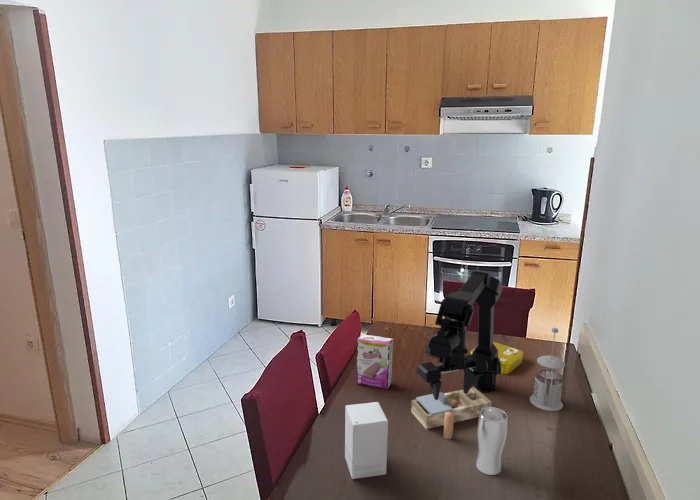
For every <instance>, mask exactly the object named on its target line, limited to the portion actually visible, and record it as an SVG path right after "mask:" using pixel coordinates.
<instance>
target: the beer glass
mask: <svg viewBox="0 0 700 500" xmlns="http://www.w3.org/2000/svg"><path fill="white" fill-rule="evenodd" d="M508 419H509V418H508V414H507V412H505V411H504V410H503V409H501V408H497V407H494V406H491V407H485V408H482V409H481V410H480V414H479V417H478V421H477V429H476V431H477V433H476V435H477V444H478V455H477V459H476V462H475V463H476V464H475V465H476V469H478V471H480V472H481V473H482V474H484V475H487V476H496V475H499V474H500V473H501V471H502V461H501V458H502V454H503V453H502V452H503V449H504V447H505V443H506V439H507V434H508Z"/></svg>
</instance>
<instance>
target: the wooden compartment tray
mask: <svg viewBox="0 0 700 500" xmlns="http://www.w3.org/2000/svg"><path fill="white" fill-rule="evenodd" d="M443 394H444V395H445V396H446V397H447V404H448V405H449V406H450V407H451V408H452V411H449V412H452V413H453V414H454V420H453V424H454V423H458V422H463V421H466V420H472V419H475V418H479V414H480V410H481V409H482V408H485V407H492V406H493V405H492V404H493V403H492V401H491V400H490V399H489V398H488V397H486V396H485V395H484V394H483V393H482V392H481V391H480V390H479V389H477V388H476V387H475V386H472V387H471V389H470V390H469V391H468V393H467V394H465V393H464V392H463V389H460V390H454V391H449V392H444V393H443ZM410 408H411V409H410V411H411V414H412V415H414V417H415V419H417V421H419V423H420V424H421V425H422V426H423V427H424V429H425V430H428V429H429V430H430V429H434V428H438V427H441V426H444V420H445V413H440V414H436V415H430V413H429V412H428V411H427V410H426V409H425V408H424V407H423V406H422V405H421V404H420V403H419V402H418V401H417V399H416V398H415V399H411V407H410Z"/></svg>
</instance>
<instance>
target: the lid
mask: <svg viewBox="0 0 700 500" xmlns="http://www.w3.org/2000/svg"><path fill="white" fill-rule="evenodd" d="M415 399H417V401H418V402H419V403H420V404H421V405H422V406H423V407H424V408H425V409H426V410H427V411H428V412H429V413H430V415H436V414H440V413H445V412H449V411H452V408H451V407H450V406H449V405H448V404H447V397H446V396H445V395H444V393H443V392H442V391H440V392H439V397H438V400H435V399H434V396H433V393H431V394H426V395H421V396H416V397H415Z"/></svg>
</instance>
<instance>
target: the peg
mask: <svg viewBox="0 0 700 500" xmlns="http://www.w3.org/2000/svg"><path fill="white" fill-rule="evenodd" d="M453 420H454V414H453V413H452V412H445V420H444V425H443V436H442V437H443V438H444V439H446V440H451V439H453V432H454V423H453Z"/></svg>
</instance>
